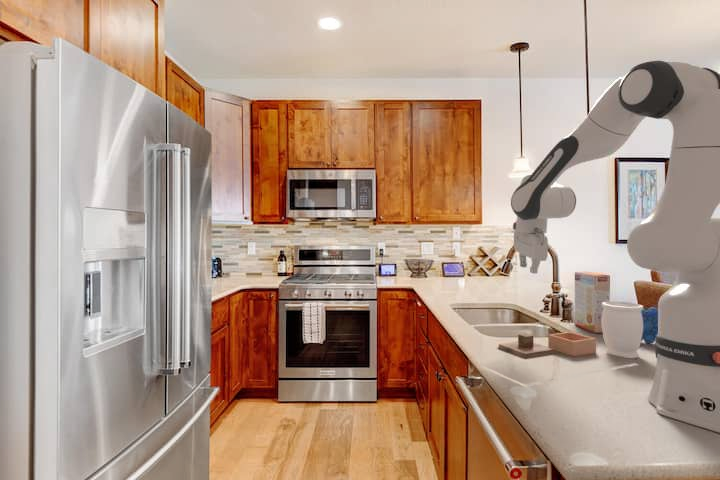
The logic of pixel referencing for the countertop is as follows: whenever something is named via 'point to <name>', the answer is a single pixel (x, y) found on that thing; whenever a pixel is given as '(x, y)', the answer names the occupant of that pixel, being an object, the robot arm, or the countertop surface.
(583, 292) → the cracker box
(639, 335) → the jar
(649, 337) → the grapes
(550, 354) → the mat
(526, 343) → the lid
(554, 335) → the dish
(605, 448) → the countertop surface
